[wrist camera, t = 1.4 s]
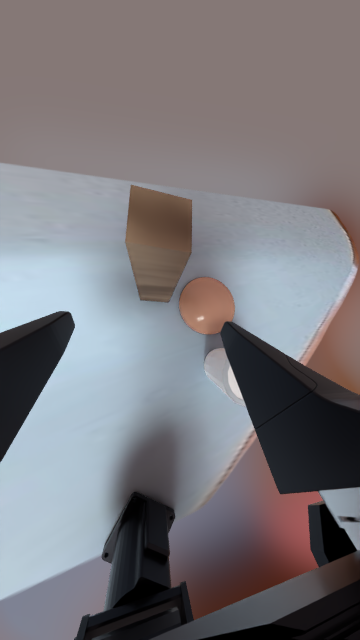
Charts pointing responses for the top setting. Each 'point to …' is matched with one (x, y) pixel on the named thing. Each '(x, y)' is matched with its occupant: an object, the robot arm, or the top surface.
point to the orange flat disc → (206, 305)
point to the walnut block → (158, 241)
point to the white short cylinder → (222, 374)
